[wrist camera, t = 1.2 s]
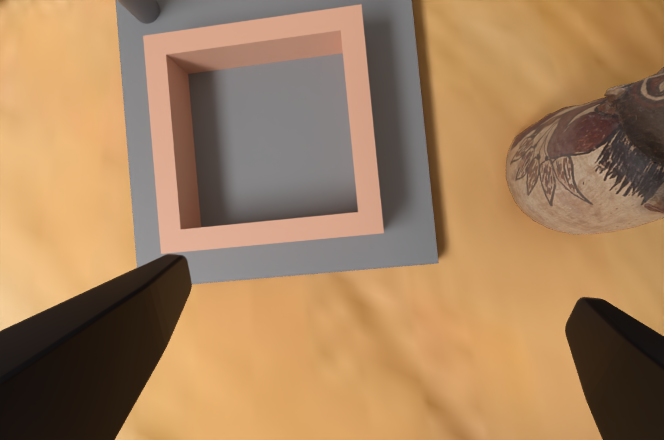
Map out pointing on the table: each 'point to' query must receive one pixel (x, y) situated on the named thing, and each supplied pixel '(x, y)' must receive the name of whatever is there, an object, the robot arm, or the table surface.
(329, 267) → the awning stand
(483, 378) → the table surface
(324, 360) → the table surface
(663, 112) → the figurine
